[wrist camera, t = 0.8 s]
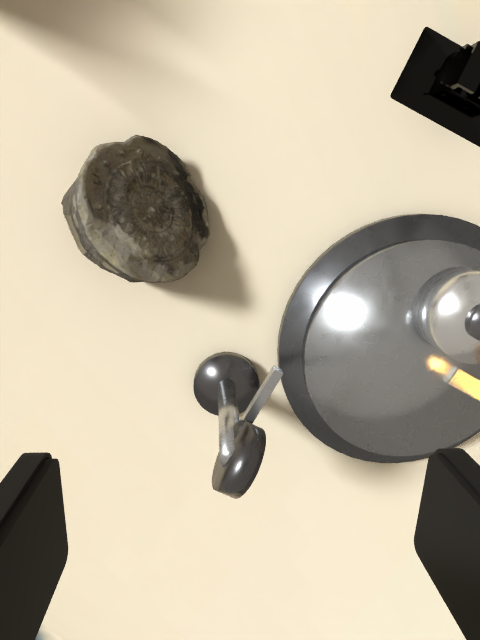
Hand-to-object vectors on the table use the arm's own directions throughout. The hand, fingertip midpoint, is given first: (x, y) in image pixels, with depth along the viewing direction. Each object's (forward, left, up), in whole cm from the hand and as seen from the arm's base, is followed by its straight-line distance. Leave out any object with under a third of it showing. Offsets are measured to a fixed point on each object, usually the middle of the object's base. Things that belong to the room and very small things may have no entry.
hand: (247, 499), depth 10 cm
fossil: (-2, -8, -27) cm, 28 cm away
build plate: (-23, +9, -27) cm, 37 cm away
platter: (-3, +18, -25) cm, 31 cm away
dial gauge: (+6, +5, -27) cm, 28 cm away
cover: (-8, +18, -24) cm, 31 cm away
